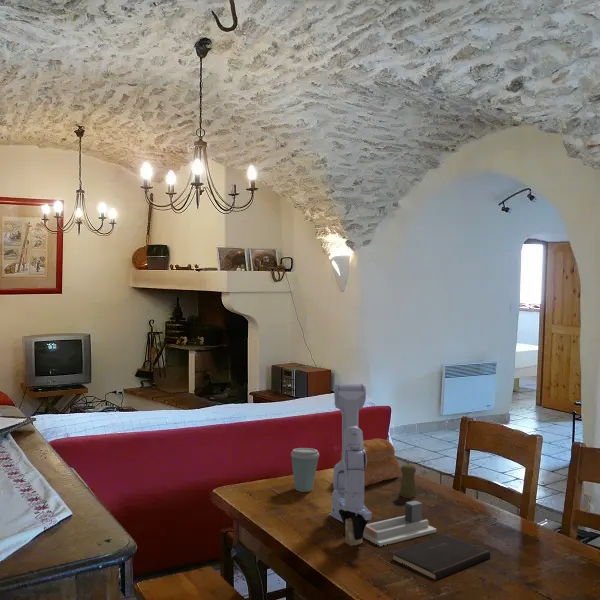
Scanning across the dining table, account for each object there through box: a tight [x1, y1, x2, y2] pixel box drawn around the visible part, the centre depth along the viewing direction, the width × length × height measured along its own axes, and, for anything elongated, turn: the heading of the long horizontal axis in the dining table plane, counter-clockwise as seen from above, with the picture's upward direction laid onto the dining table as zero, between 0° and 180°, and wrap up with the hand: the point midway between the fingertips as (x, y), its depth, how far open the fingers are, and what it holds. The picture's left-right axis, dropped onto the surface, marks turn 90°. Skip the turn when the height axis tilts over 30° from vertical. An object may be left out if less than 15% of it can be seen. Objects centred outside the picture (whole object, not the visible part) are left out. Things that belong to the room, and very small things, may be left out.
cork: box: [399, 463, 417, 499], centre depth 238 cm, size 6×6×11 cm
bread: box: [339, 437, 400, 488], centre depth 256 cm, size 14×26×15 cm, turn 131°
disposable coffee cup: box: [290, 447, 320, 493], centre depth 243 cm, size 11×11×15 cm
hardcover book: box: [391, 533, 491, 581], centre depth 185 cm, size 16×23×2 cm
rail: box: [363, 500, 437, 547], centre depth 203 cm, size 12×22×8 cm, turn 121°
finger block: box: [344, 518, 364, 547], centre depth 195 cm, size 3×4×7 cm, turn 121°
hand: (353, 536), depth 195 cm, fingers open, 4 cm apart
